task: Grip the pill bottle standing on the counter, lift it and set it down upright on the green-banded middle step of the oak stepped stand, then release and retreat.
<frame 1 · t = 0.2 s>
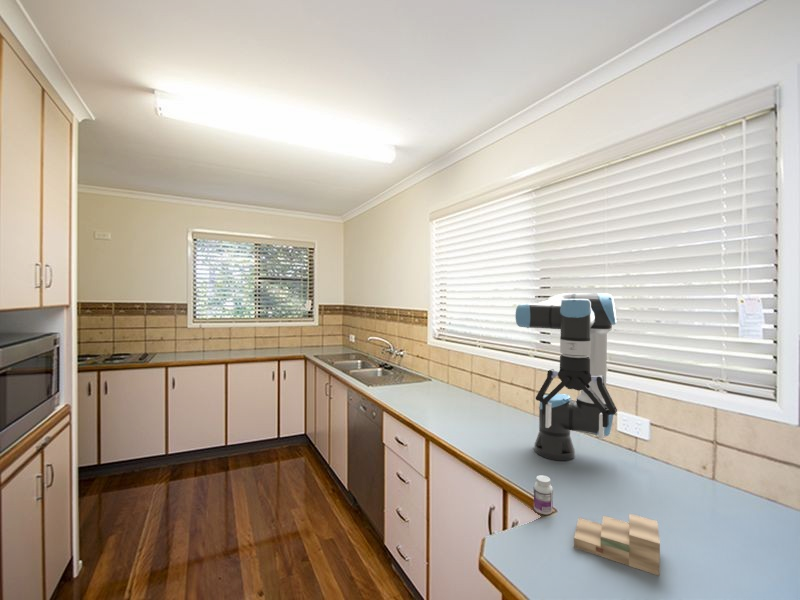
hand: (573, 432, 102), 27 cm above the counter, fingers open, 13 cm apart
stepped stand: (615, 548, 95), on the counter
pill bottle: (542, 510, 112), on the counter
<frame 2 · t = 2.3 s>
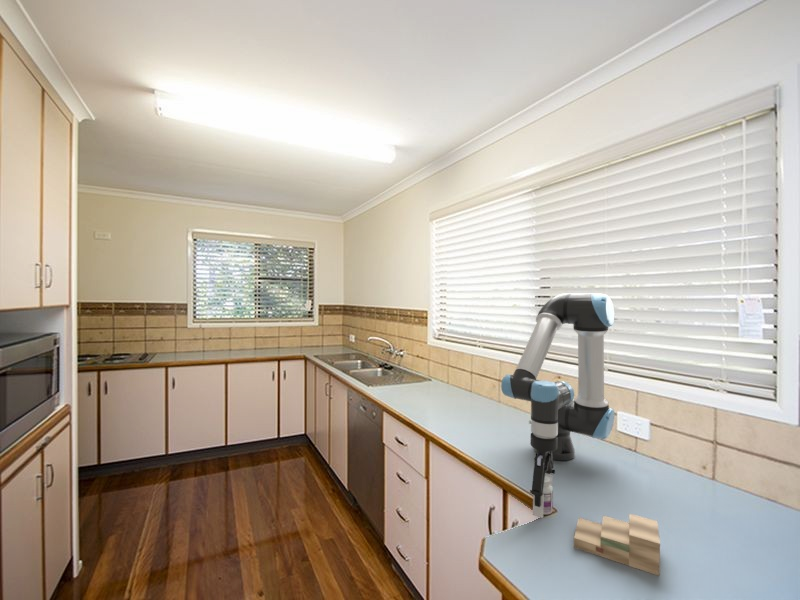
hand: (542, 504, 112), 2 cm above the counter, fingers open, 13 cm apart
nothing on the counter moved.
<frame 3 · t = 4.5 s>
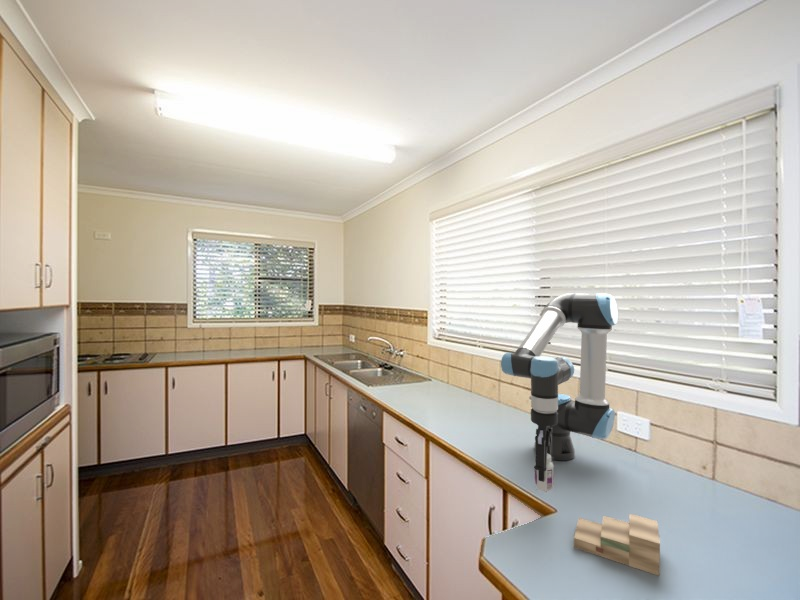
hand: (544, 485, 112), 7 cm above the counter, fingers closed on pill bottle, 5 cm apart
pill bottle: (544, 487, 112), point 7 cm above the counter, touching gripper
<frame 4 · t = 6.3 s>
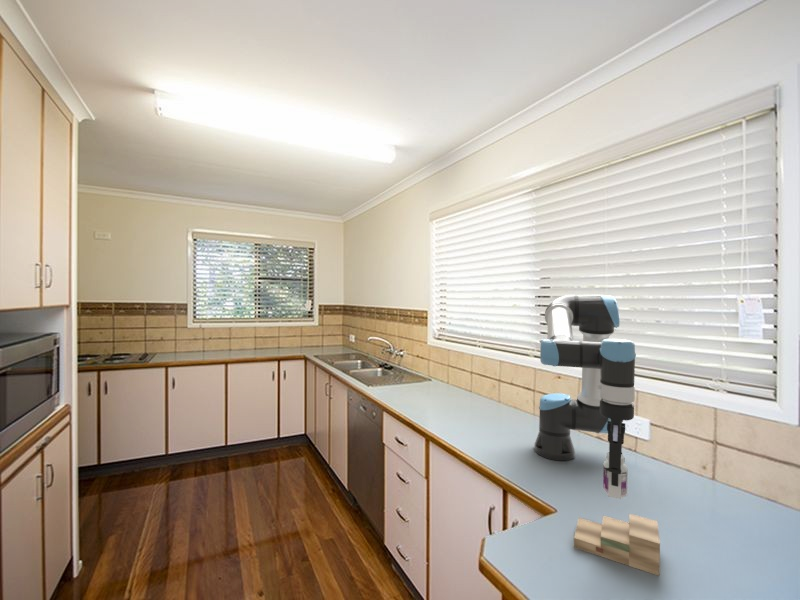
hand: (615, 491, 95), 15 cm above the counter, fingers closed on pill bottle, 5 cm apart
pill bottle: (614, 493, 95), point 14 cm above the counter, touching gripper
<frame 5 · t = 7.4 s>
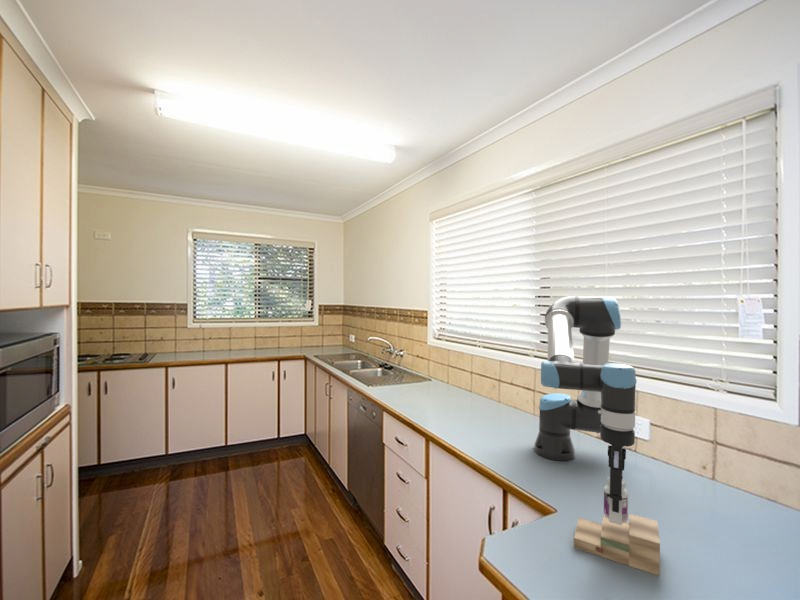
hand: (615, 516, 95), 8 cm above the counter, fingers closed on pill bottle, 5 cm apart
pill bottle: (615, 518, 95), point 8 cm above the counter, touching gripper
when the fingers open (6 cm above the counter, at t = 8.5 s): pill bottle stays where it is, resting on stepped stand.
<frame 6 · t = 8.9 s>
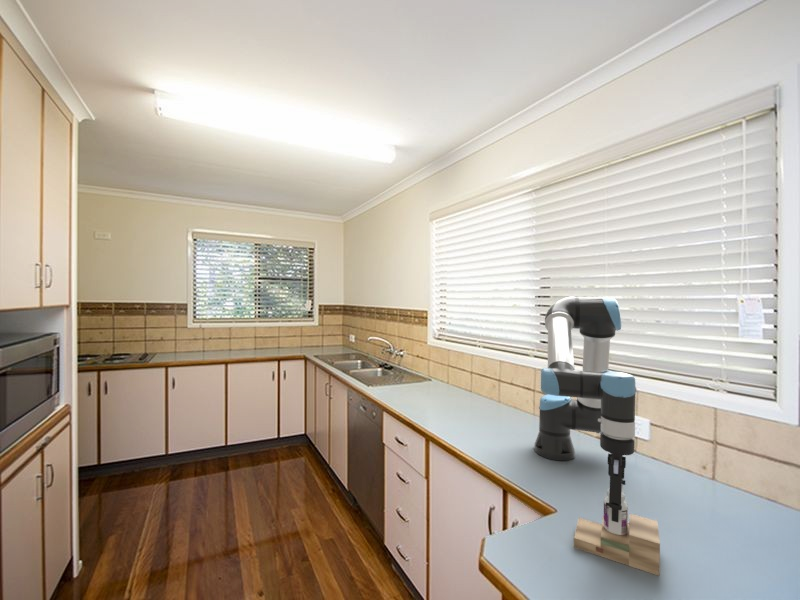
hand: (615, 519, 95), 7 cm above the counter, fingers open, 11 cm apart
pill bottle: (615, 530, 95), point 5 cm above the counter, touching stepped stand
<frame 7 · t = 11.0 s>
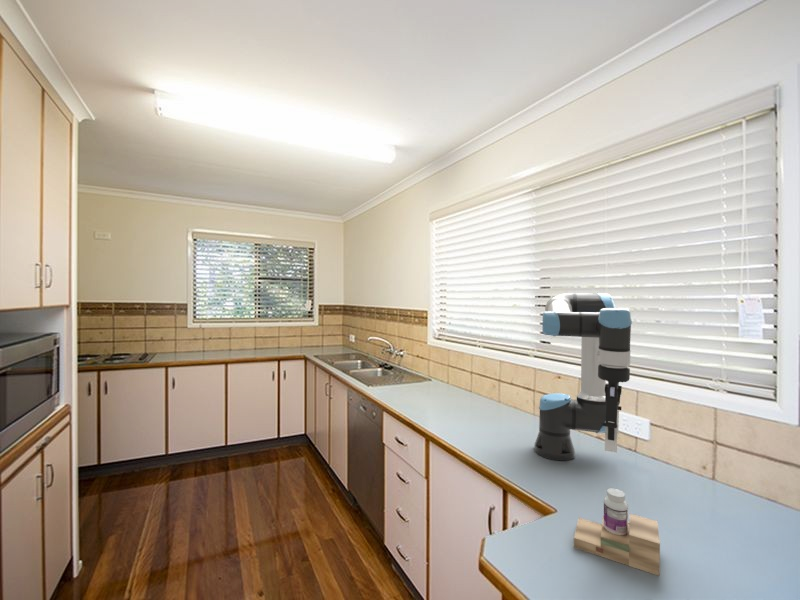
hand: (611, 441, 103), 24 cm above the counter, fingers open, 13 cm apart
nothing on the counter moved.
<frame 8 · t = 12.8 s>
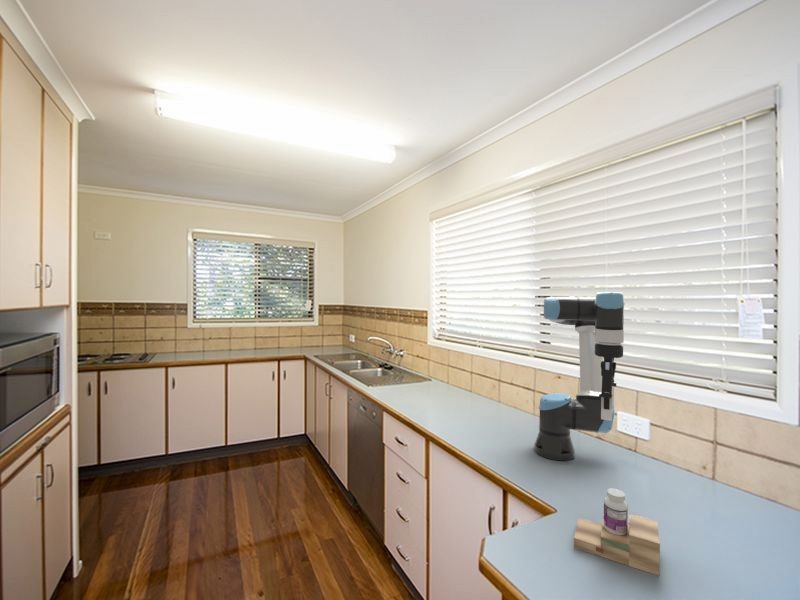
hand: (607, 413, 113), 29 cm above the counter, fingers open, 13 cm apart
nothing on the counter moved.
at the end: pill bottle inside the target area on the stepped stand (0.0 cm from its centre), point 4.8 cm above the stepped stand's base; pill bottle tilted 0°; the gripper is holding nothing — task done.
